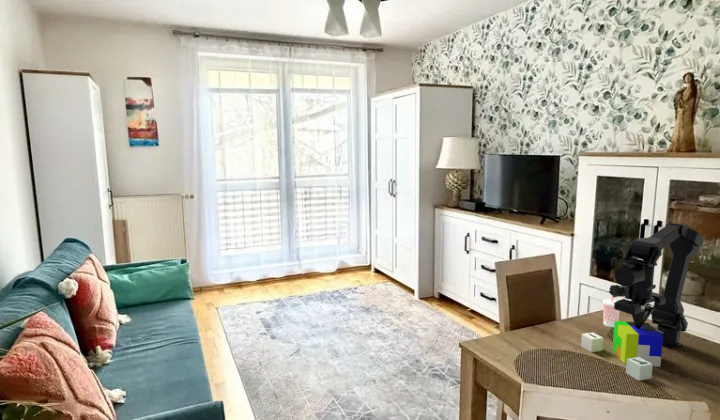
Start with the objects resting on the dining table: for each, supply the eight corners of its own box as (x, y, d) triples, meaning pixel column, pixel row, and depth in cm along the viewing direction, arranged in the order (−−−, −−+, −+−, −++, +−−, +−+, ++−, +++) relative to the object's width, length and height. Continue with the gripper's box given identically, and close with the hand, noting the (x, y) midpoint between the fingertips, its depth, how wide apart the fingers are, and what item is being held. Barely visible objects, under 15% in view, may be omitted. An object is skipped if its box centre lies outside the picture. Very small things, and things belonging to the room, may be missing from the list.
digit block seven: (637, 370, 129) (639, 356, 128) (651, 378, 125) (652, 363, 124) (625, 373, 128) (627, 358, 127) (638, 380, 124) (640, 365, 123)
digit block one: (592, 344, 146) (592, 331, 146) (602, 350, 142) (603, 337, 141) (580, 346, 145) (581, 333, 144) (591, 352, 141) (592, 338, 140)
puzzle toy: (660, 366, 131) (663, 336, 130) (624, 363, 133) (626, 333, 132) (645, 351, 141) (648, 323, 139) (612, 349, 143) (614, 320, 141)
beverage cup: (619, 329, 158) (622, 293, 156) (600, 325, 161) (603, 290, 159) (619, 323, 163) (622, 288, 161) (601, 320, 166) (604, 285, 164)
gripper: (631, 270, 145) (628, 313, 147) (599, 278, 136) (595, 325, 138) (668, 278, 135) (664, 325, 137) (635, 288, 126) (631, 338, 128)
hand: (637, 328), depth 136 cm, fingers closed, pressing on puzzle toy
